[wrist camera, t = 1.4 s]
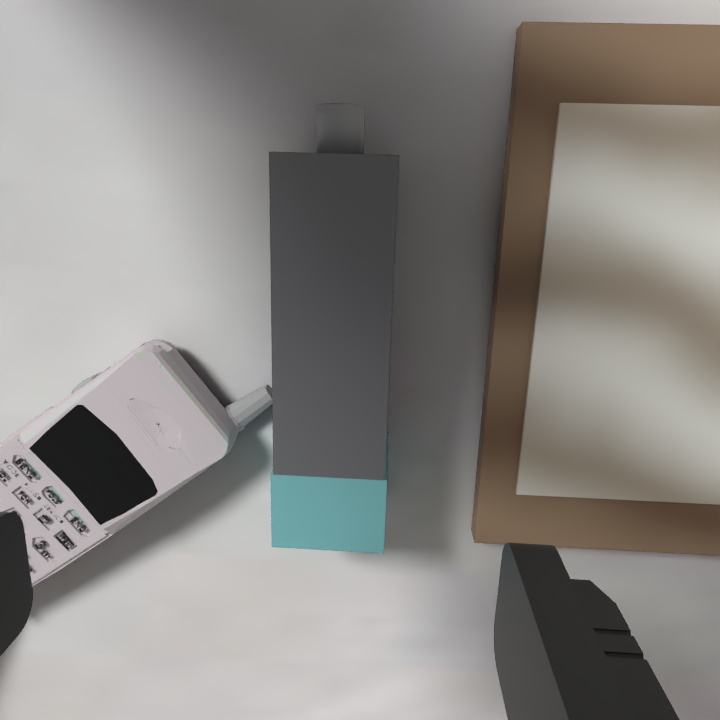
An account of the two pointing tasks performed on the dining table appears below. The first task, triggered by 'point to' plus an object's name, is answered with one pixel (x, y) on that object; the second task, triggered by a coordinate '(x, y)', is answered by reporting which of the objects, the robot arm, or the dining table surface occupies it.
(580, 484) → the writing board
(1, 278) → the dining table surface
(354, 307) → the marker
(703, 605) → the dining table surface
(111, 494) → the mobile phone
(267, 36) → the dining table surface
